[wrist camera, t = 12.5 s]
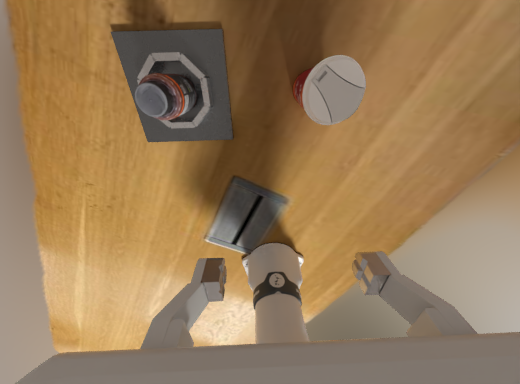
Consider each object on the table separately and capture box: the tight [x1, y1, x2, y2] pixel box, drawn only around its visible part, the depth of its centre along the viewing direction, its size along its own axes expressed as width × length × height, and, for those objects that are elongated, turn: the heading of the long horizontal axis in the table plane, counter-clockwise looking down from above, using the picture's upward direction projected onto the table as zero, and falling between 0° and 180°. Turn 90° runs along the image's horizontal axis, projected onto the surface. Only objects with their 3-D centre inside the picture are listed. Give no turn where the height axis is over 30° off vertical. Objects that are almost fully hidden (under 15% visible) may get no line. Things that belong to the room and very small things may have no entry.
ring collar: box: [111, 29, 233, 142], centre depth 32 cm, size 17×17×4 cm
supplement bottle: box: [135, 73, 196, 120], centre depth 28 cm, size 6×6×11 cm
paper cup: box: [293, 55, 366, 125], centre depth 28 cm, size 8×8×14 cm
